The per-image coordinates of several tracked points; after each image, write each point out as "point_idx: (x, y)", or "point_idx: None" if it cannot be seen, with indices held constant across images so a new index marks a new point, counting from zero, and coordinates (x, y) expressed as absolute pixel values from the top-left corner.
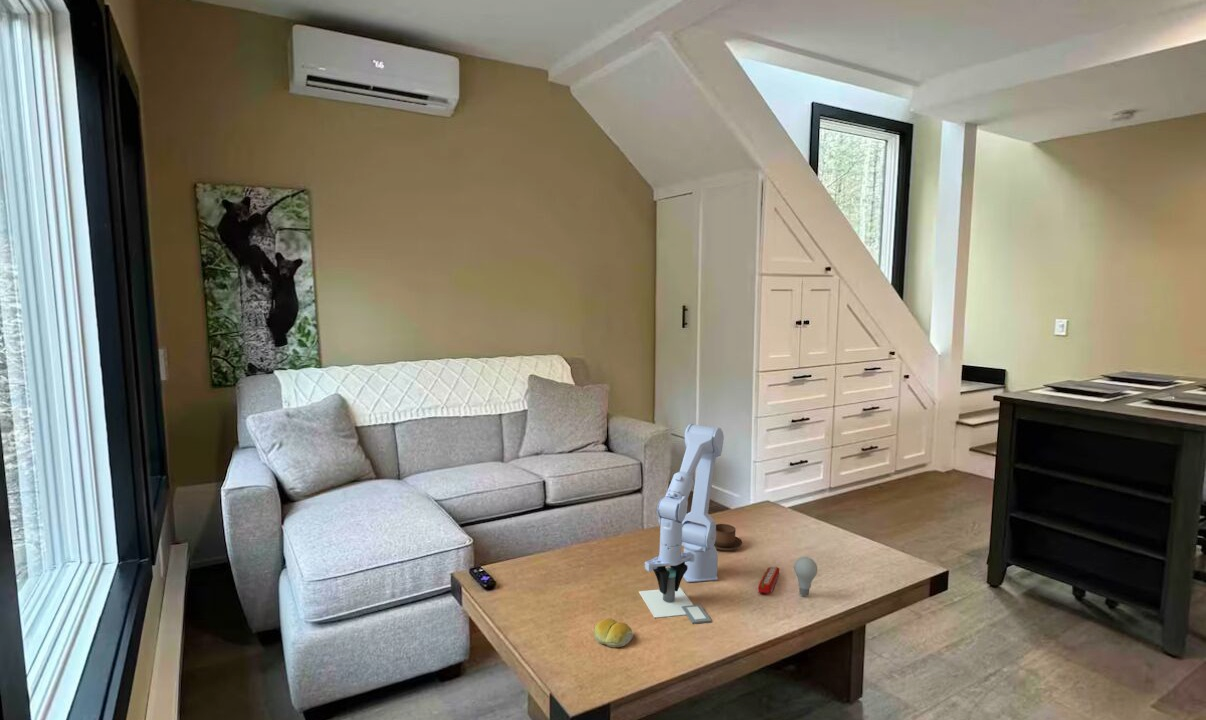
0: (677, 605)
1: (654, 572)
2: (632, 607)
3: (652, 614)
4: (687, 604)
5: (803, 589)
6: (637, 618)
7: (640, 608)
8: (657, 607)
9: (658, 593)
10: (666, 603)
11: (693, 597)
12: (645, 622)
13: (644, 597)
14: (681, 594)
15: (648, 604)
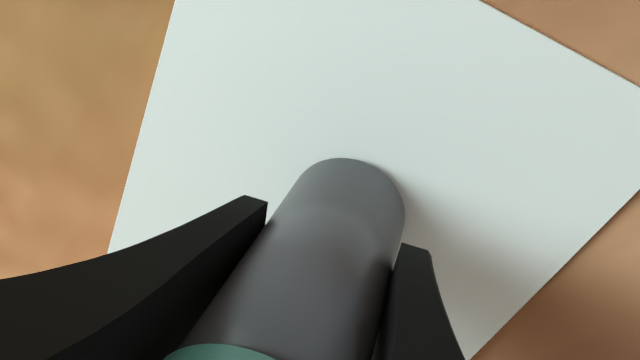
0: None
1: (12, 282)
2: (29, 72)
3: (113, 239)
4: None
5: None
6: (7, 200)
7: (78, 125)
8: (189, 214)
9: (364, 54)
10: None
11: (592, 317)
12: (34, 260)
13: (188, 21)
14: (543, 226)
15: (152, 138)
